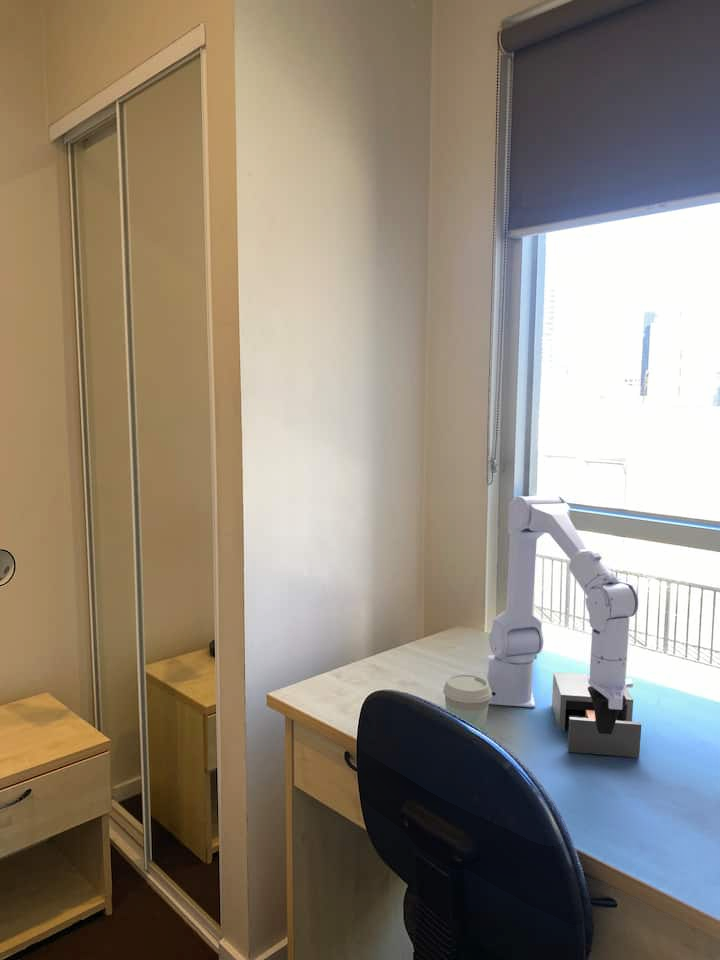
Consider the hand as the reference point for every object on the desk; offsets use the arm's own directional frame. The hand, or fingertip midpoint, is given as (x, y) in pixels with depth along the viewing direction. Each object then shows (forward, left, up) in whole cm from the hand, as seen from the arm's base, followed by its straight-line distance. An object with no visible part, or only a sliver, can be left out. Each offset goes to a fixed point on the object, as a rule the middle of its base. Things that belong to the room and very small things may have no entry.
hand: (604, 732), depth 121 cm
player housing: (+1, +18, -6) cm, 19 cm away
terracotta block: (+1, +9, -5) cm, 10 cm away
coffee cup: (-23, +4, -7) cm, 24 cm away
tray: (+1, +10, -6) cm, 11 cm away
